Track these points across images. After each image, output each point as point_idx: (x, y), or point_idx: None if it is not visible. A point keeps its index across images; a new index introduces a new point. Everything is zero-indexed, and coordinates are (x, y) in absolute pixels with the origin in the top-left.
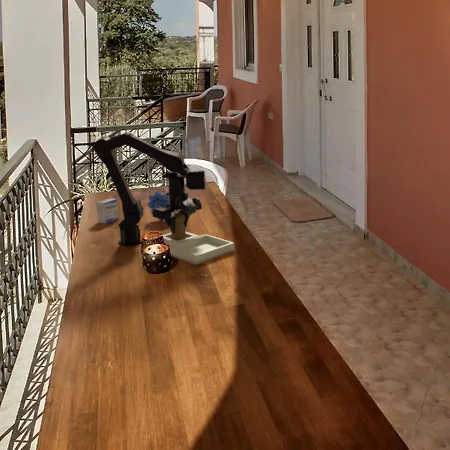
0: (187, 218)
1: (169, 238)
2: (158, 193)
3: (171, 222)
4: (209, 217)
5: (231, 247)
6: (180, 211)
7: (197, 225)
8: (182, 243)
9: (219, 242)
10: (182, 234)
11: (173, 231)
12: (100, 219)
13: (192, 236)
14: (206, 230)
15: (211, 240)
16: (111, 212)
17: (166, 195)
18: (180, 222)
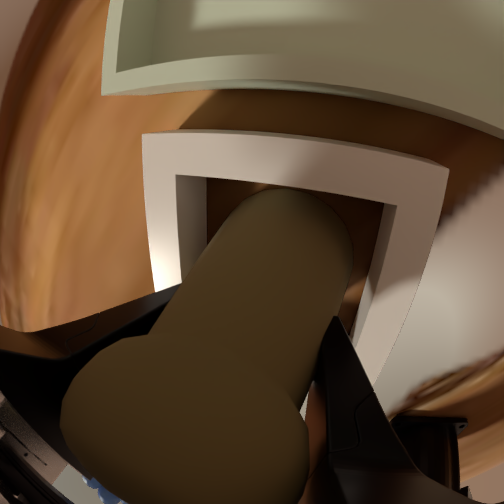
0: (66, 337)
1: (372, 316)
2: (104, 500)
3: (403, 454)
4: (31, 317)
5: None
6: (78, 464)
7: (69, 318)
8: (455, 86)
9: None
10: (276, 238)
11: (346, 336)
12: None
13: (192, 167)
14: (60, 251)
15: (143, 17)
16: None
17: (85, 479)
18: (235, 365)
